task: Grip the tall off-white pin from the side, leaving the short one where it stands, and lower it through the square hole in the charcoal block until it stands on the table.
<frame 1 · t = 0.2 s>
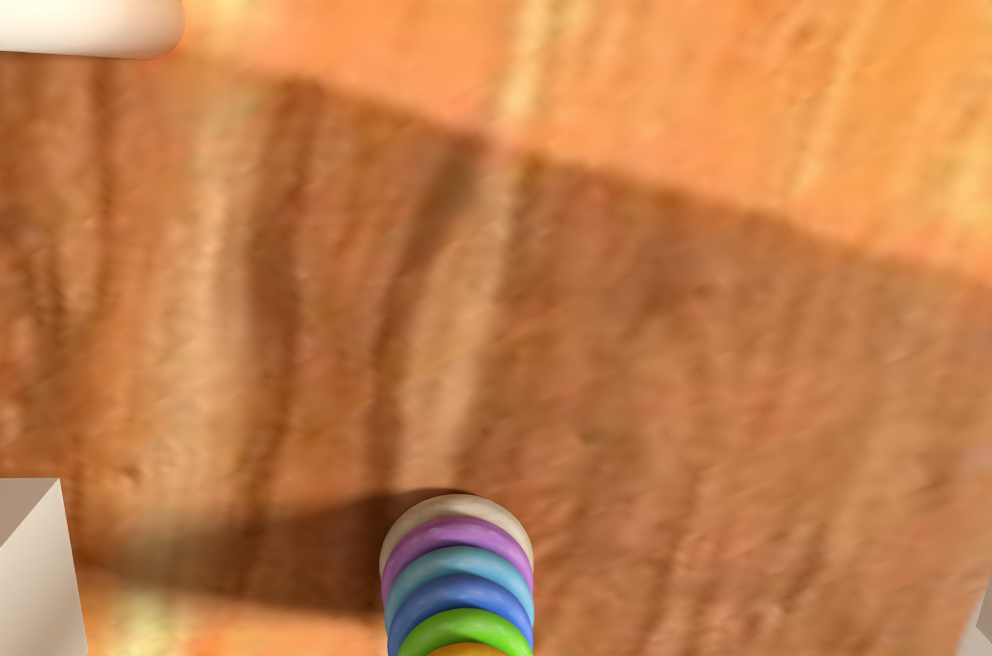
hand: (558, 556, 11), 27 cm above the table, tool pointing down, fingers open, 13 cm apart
tall pin: (141, 14, 34), on the table
stacking toy: (457, 552, 42), on the table
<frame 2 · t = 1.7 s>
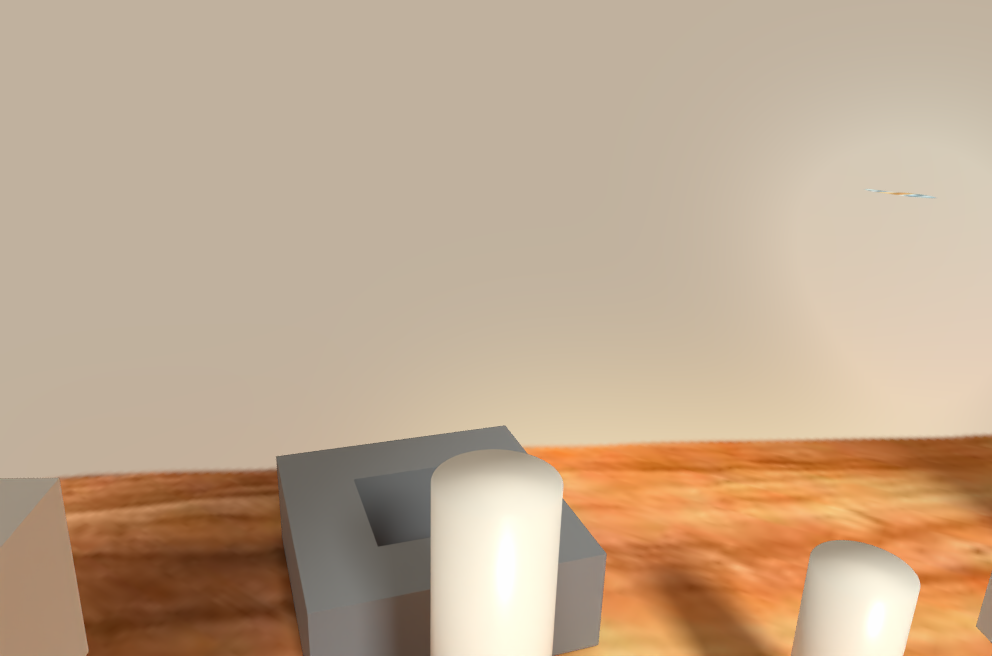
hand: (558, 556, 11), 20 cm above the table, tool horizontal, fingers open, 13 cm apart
hole block: (426, 585, 41), on the table
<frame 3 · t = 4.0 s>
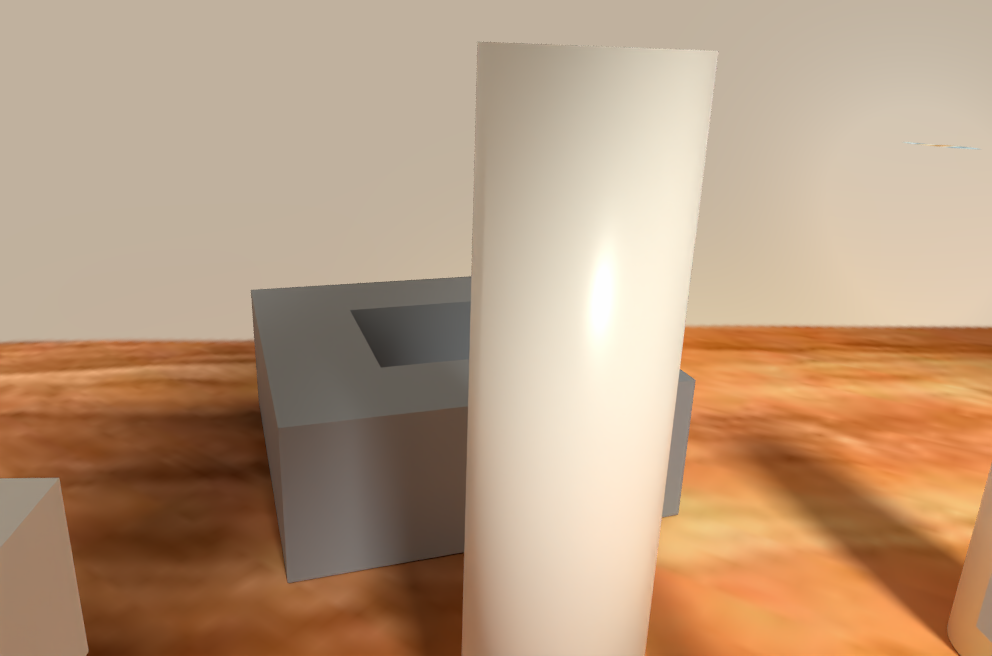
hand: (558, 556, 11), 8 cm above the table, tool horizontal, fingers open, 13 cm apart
hole block: (443, 450, 31), on the table
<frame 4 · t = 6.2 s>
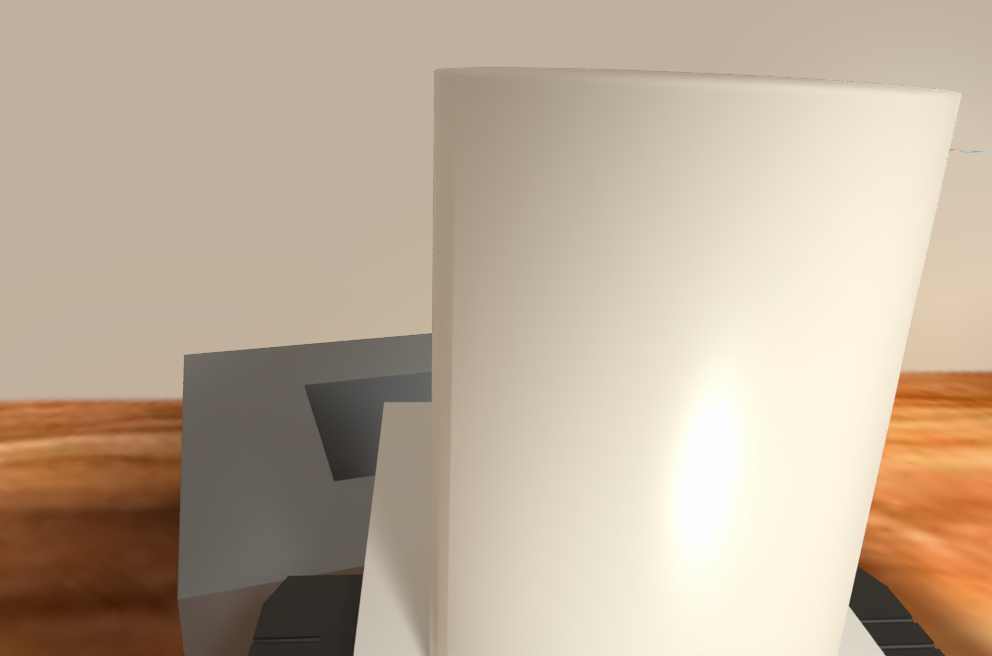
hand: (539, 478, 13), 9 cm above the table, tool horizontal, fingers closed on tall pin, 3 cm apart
hole block: (422, 560, 25), on the table
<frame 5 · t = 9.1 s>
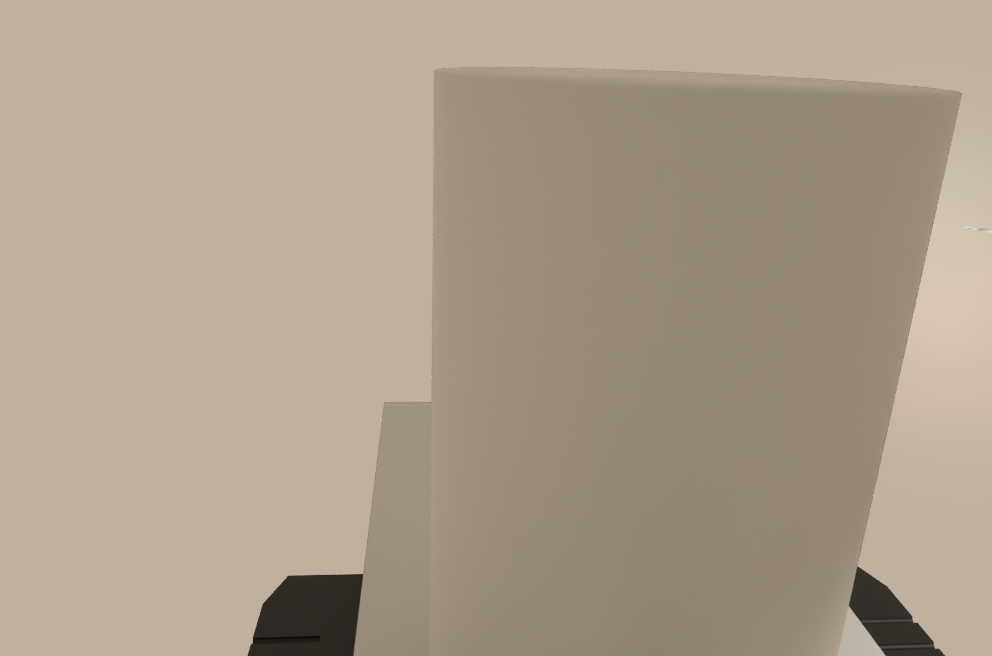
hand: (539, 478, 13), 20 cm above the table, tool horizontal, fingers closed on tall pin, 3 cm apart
when the fingers open (11 cm above the table, at t = 12.0 s): tall pin drops 2 cm, resting in hole block.
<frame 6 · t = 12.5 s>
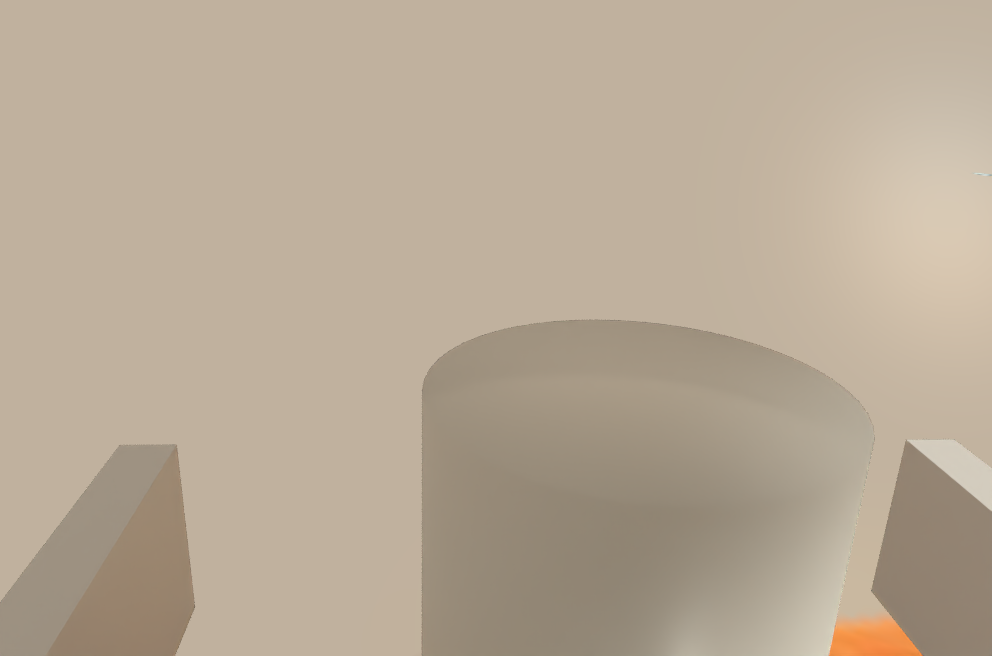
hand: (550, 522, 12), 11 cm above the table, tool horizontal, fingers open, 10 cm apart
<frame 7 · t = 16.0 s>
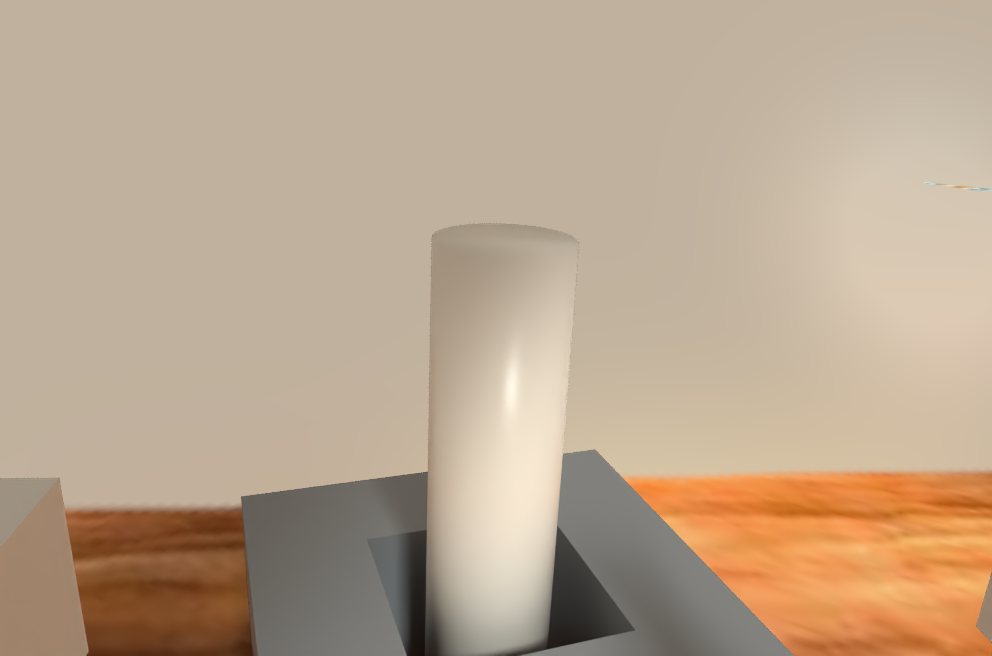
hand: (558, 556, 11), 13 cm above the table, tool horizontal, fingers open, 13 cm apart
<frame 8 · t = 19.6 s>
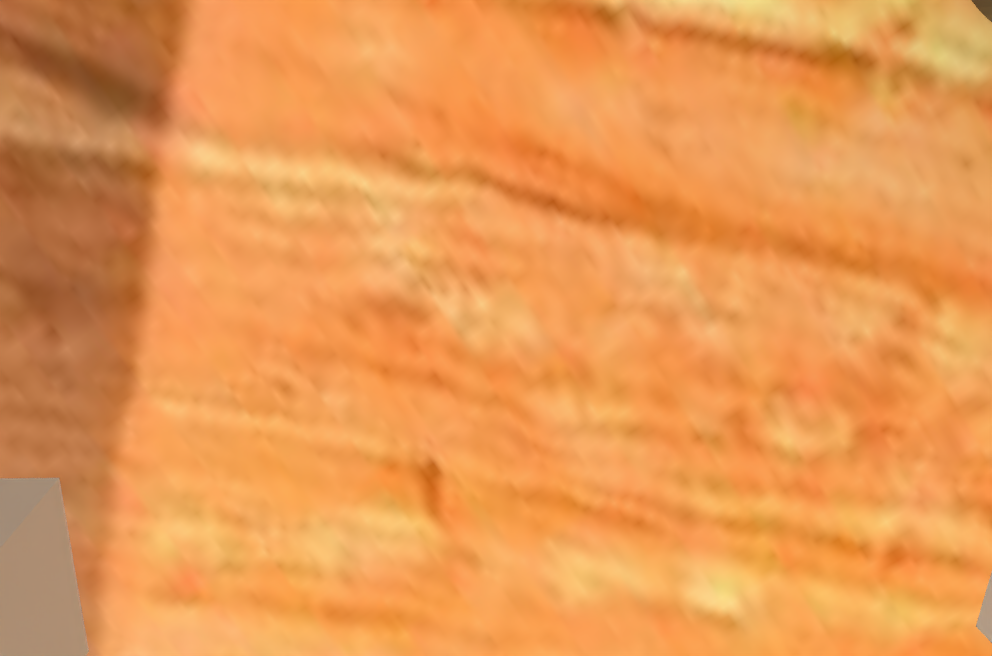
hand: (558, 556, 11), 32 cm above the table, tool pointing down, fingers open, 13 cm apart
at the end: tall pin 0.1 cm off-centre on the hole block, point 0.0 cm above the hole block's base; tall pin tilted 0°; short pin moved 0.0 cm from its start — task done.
